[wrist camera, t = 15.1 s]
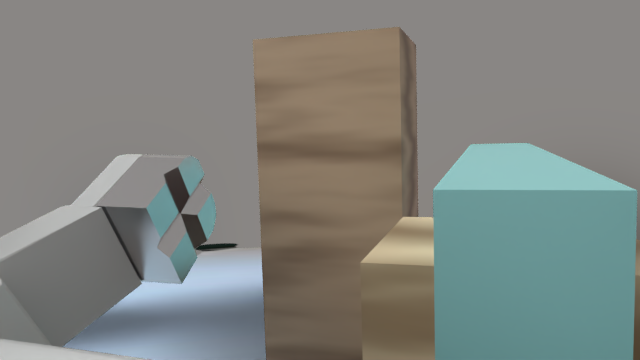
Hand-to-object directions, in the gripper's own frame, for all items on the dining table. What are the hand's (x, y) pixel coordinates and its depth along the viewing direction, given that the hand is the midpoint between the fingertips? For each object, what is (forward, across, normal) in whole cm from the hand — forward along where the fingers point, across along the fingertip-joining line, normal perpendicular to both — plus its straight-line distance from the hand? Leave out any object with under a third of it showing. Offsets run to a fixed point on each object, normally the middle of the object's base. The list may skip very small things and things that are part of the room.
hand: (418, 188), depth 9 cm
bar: (+10, -2, +11) cm, 15 cm away
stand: (+15, +9, +31) cm, 36 cm away
